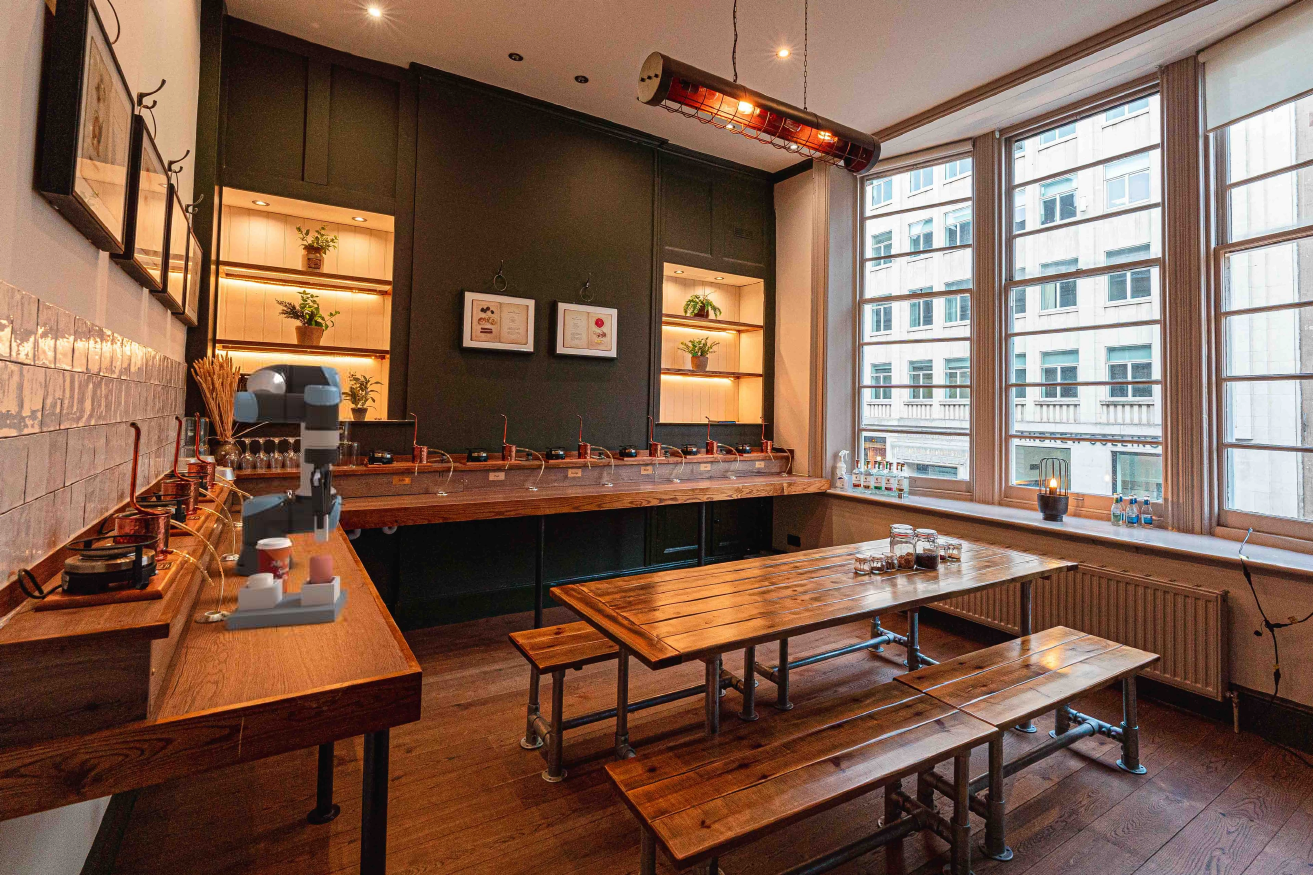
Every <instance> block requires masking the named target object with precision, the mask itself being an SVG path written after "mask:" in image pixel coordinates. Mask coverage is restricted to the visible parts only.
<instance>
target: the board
mask: <svg viewBox="0 0 1313 875" xmlns="http://www.w3.org/2000/svg"><path fill="white" fill-rule="evenodd" d="M347 601H348V590H347V589H341V576H340V575H332V583H328V584H311V585H310V577H307V579H306V580H305V581H304V582H303V583H302V584H301V586H300V592H291V593H290V592H287V593H285V594H282V579H277V580H273V585H272V586H271V587H261V588H248V581H247V582H246V583H244V585H242V586H241V587H239V589H238V590H237V607H236V608H235V609H234V610H233V611H231V613H230V614H228V615H227V616H226V631H232V630H244V629H245V630H246V629H257V628H259V629H260V628H271V627H282V626H294V625H310V624H321V623H331V622H332V623H333V622H335V621H336V620H337V618H338V616H339V614H340V613H341V611H342V609H343V608H344V606H345V605H346V603H347Z"/></svg>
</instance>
